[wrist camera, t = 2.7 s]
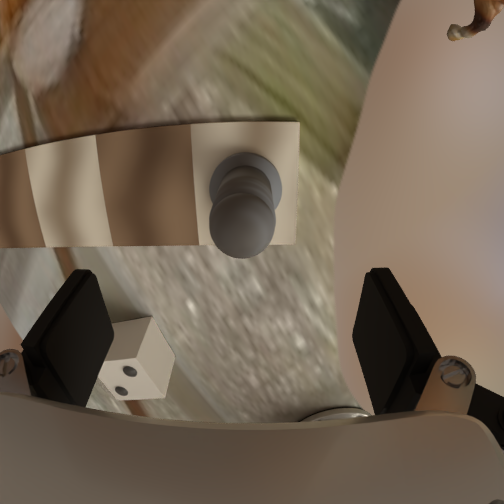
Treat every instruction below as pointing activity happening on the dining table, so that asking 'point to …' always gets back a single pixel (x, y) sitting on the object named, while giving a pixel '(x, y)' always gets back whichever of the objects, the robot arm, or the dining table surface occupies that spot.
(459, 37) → the horse figurine
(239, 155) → the pawn
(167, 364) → the die
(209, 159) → the game board
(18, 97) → the dining table surface
